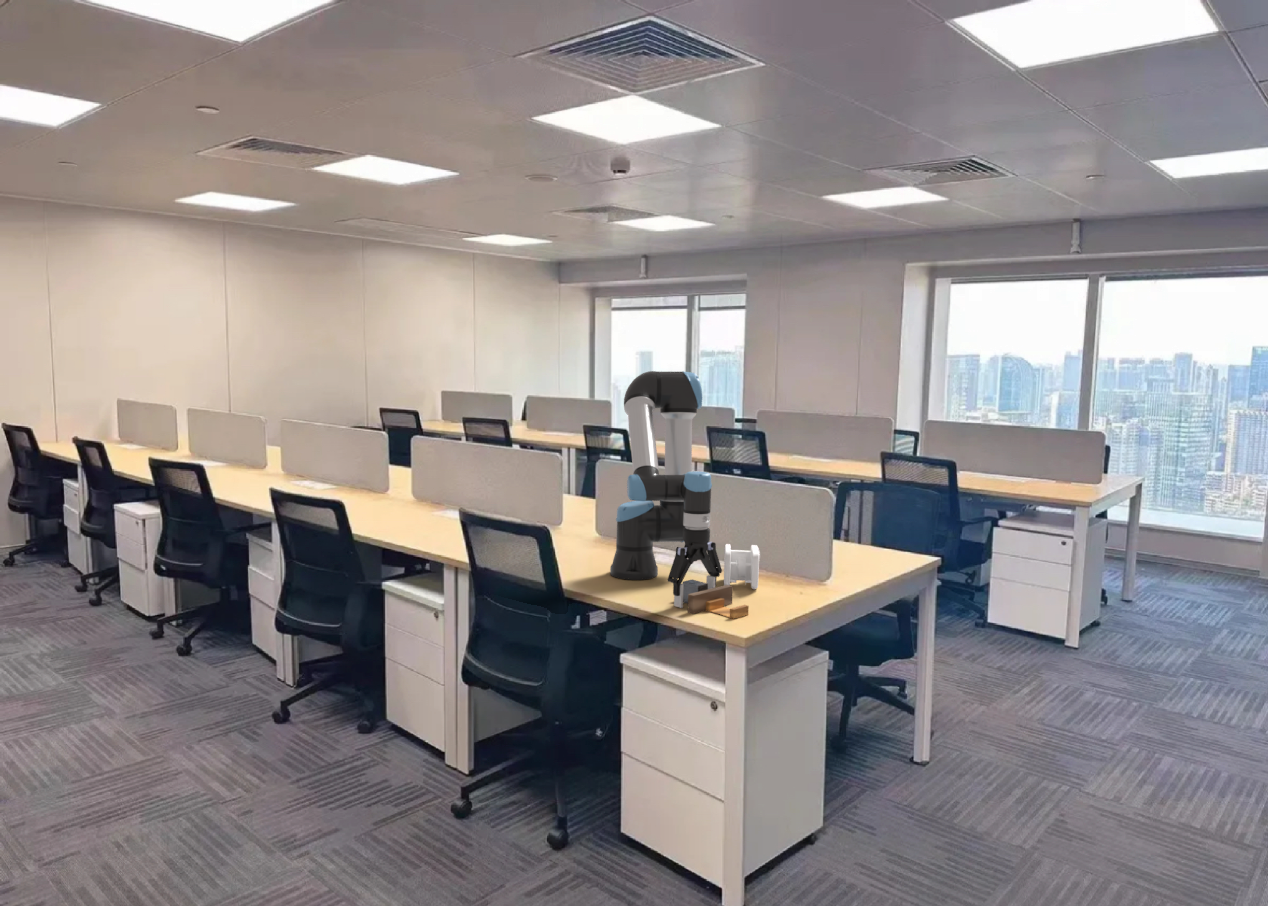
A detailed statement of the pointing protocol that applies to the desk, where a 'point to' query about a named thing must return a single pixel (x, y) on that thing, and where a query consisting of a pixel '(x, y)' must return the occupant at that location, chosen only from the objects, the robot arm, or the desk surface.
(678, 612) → the desk surface
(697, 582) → the block
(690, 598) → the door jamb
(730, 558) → the cable organizer
